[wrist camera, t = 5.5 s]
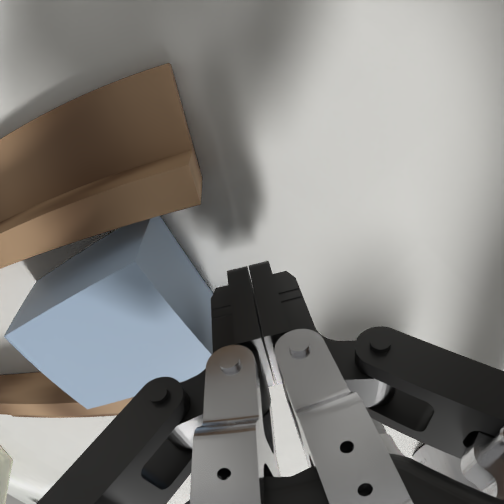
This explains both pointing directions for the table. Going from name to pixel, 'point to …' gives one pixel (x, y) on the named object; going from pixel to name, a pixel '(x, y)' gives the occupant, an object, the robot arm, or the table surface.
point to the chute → (91, 192)
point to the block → (118, 317)
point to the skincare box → (4, 474)
